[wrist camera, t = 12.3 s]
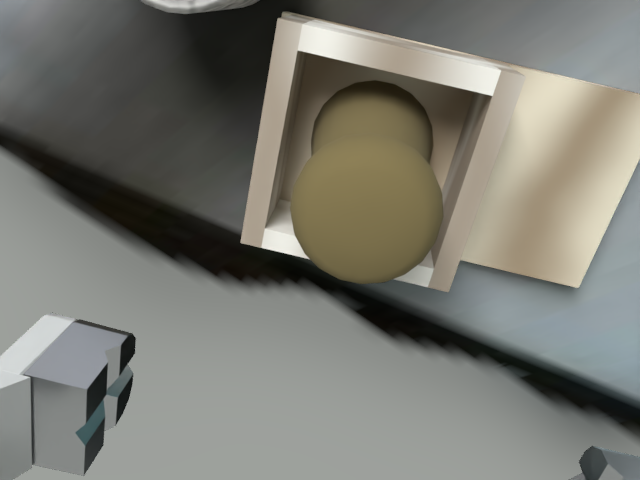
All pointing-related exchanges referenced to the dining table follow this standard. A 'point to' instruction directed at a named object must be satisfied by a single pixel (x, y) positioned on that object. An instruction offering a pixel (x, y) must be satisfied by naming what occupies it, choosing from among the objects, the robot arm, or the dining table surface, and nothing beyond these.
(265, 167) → the open box
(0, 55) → the dining table surface
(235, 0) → the mug
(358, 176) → the cork
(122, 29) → the dining table surface
